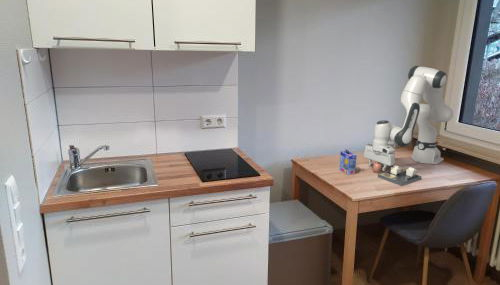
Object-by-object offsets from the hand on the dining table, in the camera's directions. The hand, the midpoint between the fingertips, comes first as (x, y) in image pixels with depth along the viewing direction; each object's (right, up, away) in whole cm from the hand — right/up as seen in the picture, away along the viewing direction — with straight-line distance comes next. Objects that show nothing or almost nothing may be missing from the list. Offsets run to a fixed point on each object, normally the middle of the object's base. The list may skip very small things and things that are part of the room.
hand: (377, 168), depth 226 cm
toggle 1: (+9, -2, -7) cm, 11 cm away
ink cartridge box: (-19, -2, 0) cm, 19 cm away
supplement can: (+11, +1, +16) cm, 19 cm away
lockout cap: (0, -2, +1) cm, 3 cm away
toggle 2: (+17, -3, -10) cm, 20 cm away
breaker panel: (+10, -5, -9) cm, 14 cm away
